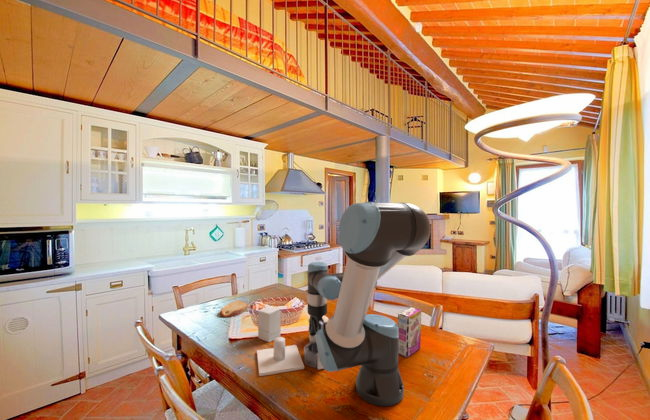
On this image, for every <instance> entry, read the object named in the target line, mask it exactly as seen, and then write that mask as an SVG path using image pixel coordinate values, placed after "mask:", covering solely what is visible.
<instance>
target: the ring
mask: <svg viewBox="0 0 650 420" xmlns="http://www.w3.org/2000/svg"><path fill="white" fill-rule="evenodd" d="M317 351H318V349H317V343H316V341H314V342H310V341H309V342H308V343H307V344H305V345H304V346H303V361H304V364H305V365H306V366H308V367H311V368H313V369H318V368H317V366H318V353H317Z"/></svg>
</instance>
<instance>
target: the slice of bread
mask: <svg viewBox="0 0 650 420" xmlns="http://www.w3.org/2000/svg"><path fill="white" fill-rule="evenodd" d="M247 309H248V303H247V302H246V301H243V300H235V301H232V302H230V303H228V304H227V305H224V306H223V307H222V308H221V309H220V311H219V316H220V317H222V318H223V319H228V318H233V317H236V316H235V315H237V316H239V315H241V314H243V313H245V311H247ZM232 316H233V317H232Z"/></svg>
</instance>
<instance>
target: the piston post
mask: <svg viewBox="0 0 650 420" xmlns="http://www.w3.org/2000/svg"><path fill="white" fill-rule="evenodd" d="M256 356H257V357H256V358H257V368H258V377H263V376H264V377H265V376H269V375H275V374H281V373H282V374H283V373H286V372H287V373H288V372H294V371H300V370H304V369H305V365H304V364H305V363H304V362H303V358H302V357H301V354H300V352H299V348H298V346H297V344H293V345H286V338H285V337H283V336H280V337H277V338H275V339H274V340H273V347H272V348H263V349H257V350H256Z"/></svg>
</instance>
